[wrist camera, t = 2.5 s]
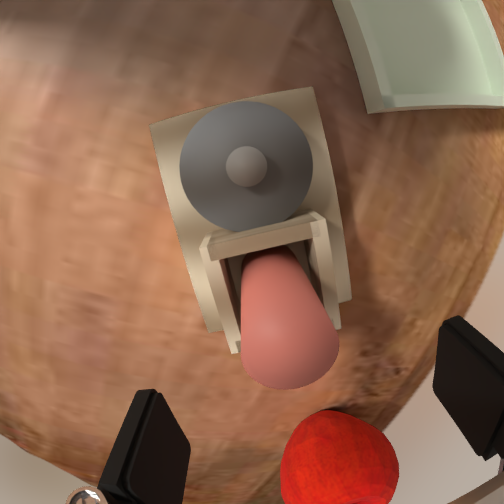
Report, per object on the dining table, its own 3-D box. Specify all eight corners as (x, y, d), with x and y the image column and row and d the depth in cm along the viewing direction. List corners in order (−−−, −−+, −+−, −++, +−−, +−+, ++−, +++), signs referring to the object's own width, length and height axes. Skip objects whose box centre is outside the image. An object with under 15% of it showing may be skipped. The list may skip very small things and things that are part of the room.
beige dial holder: (157, 128, 18) (128, 117, 13) (306, 93, 18) (328, 70, 13) (211, 319, 22) (203, 363, 17) (343, 288, 22) (370, 324, 17)
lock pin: (235, 249, 19) (229, 322, 10) (292, 235, 19) (333, 297, 10) (248, 301, 20) (253, 397, 11) (303, 288, 20) (342, 376, 11)
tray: (313, -42, 15) (320, -61, 12) (448, -24, 14) (463, -34, 11) (367, 114, 18) (384, 108, 16) (496, 108, 18) (517, 106, 15)
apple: (389, 390, 25) (441, 484, 14) (343, 452, 28) (369, 539, 16) (297, 376, 24) (326, 499, 12) (259, 444, 27) (266, 547, 15)
